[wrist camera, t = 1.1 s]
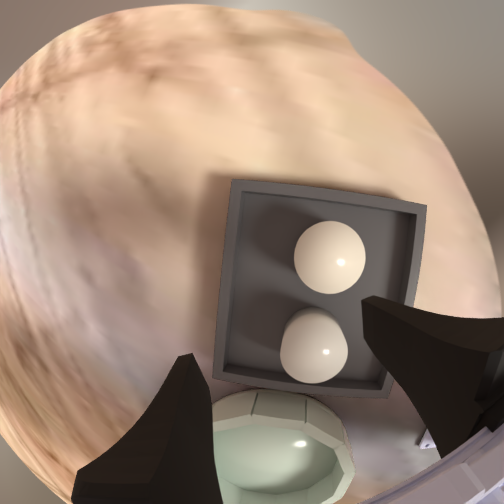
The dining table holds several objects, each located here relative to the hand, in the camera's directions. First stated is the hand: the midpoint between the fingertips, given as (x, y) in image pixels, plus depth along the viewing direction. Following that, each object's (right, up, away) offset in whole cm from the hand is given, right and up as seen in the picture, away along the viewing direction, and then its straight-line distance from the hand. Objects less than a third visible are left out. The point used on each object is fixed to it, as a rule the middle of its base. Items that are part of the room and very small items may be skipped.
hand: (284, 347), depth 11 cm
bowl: (+1, -16, +13) cm, 21 cm away
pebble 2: (+3, -3, +11) cm, 12 cm away
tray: (+4, +1, +11) cm, 12 cm away
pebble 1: (+4, +4, +10) cm, 12 cm away
